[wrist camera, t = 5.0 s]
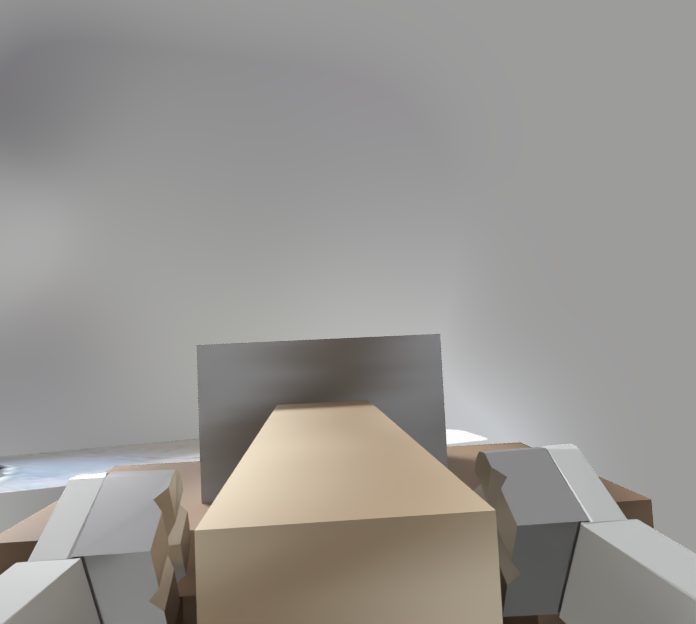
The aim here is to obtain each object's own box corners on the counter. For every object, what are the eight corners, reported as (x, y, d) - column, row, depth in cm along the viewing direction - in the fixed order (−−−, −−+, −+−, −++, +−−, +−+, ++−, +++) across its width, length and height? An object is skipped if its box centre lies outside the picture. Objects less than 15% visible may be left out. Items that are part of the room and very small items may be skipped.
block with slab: (-79, 886, 5) (-78, 328, 5) (231, 461, 22) (227, 347, 22) (762, 797, 5) (717, 295, 5) (412, 450, 22) (406, 338, 23)
